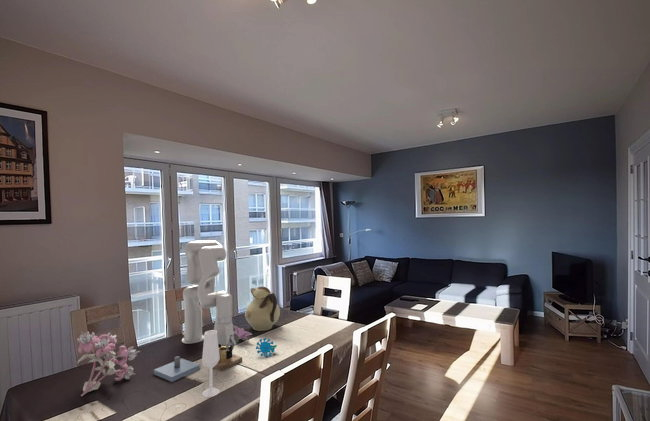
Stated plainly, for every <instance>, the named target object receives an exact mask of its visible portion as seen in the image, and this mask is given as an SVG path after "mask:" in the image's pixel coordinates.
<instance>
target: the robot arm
mask: <svg viewBox="0 0 650 421" xmlns="http://www.w3.org/2000/svg"><path fill="white" fill-rule="evenodd" d="M184 253H185V257H186V260H187V263H186V264H187V266H186V282H187V284H189V285H188V286H186V287H185V288H184V289H183V290H182V299H183V305H184V331H183V332H182V335H183V337H182V338H181V343H183V344H186V345H187V344H188V345H190V344H192V345H193V344H198V343H200V342H204V334H203V309H205V310H207V309H211V308H215V322H214V328H213V330H216V331H217V337H218V347H221V346H226V348H227V351H226V359H227V360H228V359H230V358H232V354H233V350H234V348H235V346H236V345H237V342H236V340H235V334H234V331H235V329H234V327H233V325H234V324H233V295H232V294H231V293H228V292H227V290H218V291H215V284H216V277H217V276H218V275H219V274H220V273H221V272H220V267H219V264H218V262H220V261H221V262H222V261H224V260H225V259H226V258H227V252H226V249H225V247H224V246H223V245H222V244H221V243H220V242H218V241H217V240H214V239H213V240H211V239H210V240H194V241H193V240H192V241H188V242H187V243H186V244H185V247H184ZM198 302H199V303H198ZM229 346H230V347H229Z"/></svg>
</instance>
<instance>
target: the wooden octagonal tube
mask: <svg viewBox="0 0 650 421" xmlns="http://www.w3.org/2000/svg"><path fill="white" fill-rule="evenodd" d="M228 346H229V347H230V345H228ZM226 351H227V348H226V346H223V345H221V347H219V357H220V359H219V362H226V361H229V360H231V358H230V359H228V360H227V359H226Z"/></svg>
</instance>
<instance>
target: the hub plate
mask: <svg viewBox="0 0 650 421" xmlns="http://www.w3.org/2000/svg"><path fill="white" fill-rule="evenodd" d="M173 360H174V361H172V362H170V363H167V364H164V365H162V366H159V367H157V368H154V369H153V375H155V376H156V377H157V376H158V377H160V378H162V379H164V380H167V381H168V382H171V383H172V382H175V381H177V380H179V379H182V378H183V377H185V376H188V375H191V374H192V373H195V372H196V371H199V370H200V369H201V364H199V363H196V362H193V361H190V360H188V359H184V358H181V356H180V355H179V356H178V355H177V356H175V357H174V358H173Z"/></svg>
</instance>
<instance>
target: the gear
mask: <svg viewBox="0 0 650 421" xmlns="http://www.w3.org/2000/svg"><path fill="white" fill-rule="evenodd" d="M277 346H278V345H277V344H275V345H274V341H273V340H272V341H271V339H270V338H268V339H267V338H266V337H263V339H262V338H260V339H259V341H257V342H256V346H255V349H256V352H257V354H260V357H263V356H264V357H265V358H268V356H270V357H271V356H272V355H273V353H275V349H276V348H277ZM268 353H269V354H268Z"/></svg>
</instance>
